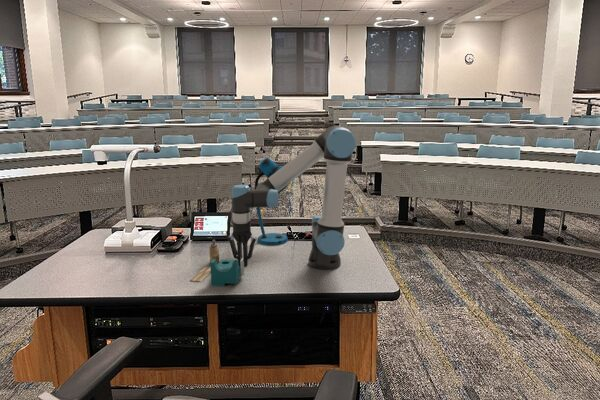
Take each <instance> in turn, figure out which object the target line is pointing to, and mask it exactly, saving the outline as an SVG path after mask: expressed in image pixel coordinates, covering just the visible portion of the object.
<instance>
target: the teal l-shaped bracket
mask: <svg viewBox="0 0 600 400" xmlns="http://www.w3.org/2000/svg"><path fill="white" fill-rule="evenodd" d="M219 261H220V263H218V264H217V262H216V260H214V259H213V260H212V261H211V262H210V261H209V264H210V266H209V267H210V268H211V273H210V282H211V284H210V285H211V287H213V286H214V287H225V285H226V284H232V285H233V284H235V285H236V284H238V282H239V280H240V279H241V277H242V275H241V268H240V267H239V266H238V259H220V260H219Z"/></svg>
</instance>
